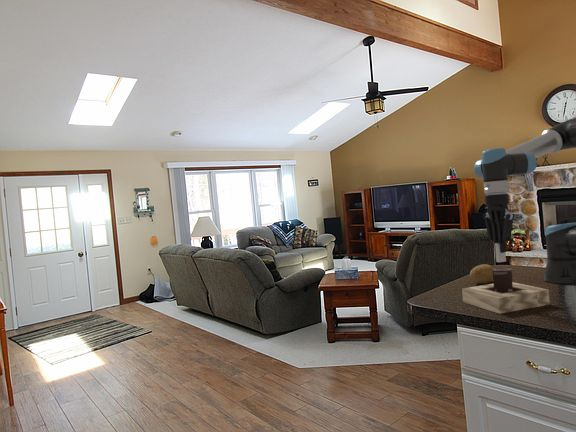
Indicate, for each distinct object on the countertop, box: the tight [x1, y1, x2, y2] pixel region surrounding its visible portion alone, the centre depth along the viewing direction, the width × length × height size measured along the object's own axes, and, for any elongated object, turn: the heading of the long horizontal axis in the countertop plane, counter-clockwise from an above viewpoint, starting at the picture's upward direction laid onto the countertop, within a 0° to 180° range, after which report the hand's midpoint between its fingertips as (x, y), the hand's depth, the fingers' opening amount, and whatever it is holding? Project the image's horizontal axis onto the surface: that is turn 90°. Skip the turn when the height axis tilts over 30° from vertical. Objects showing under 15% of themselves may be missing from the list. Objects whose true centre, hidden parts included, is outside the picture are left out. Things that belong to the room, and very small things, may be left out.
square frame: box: [461, 281, 551, 314], centre depth 148 cm, size 20×18×5 cm
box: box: [492, 267, 513, 293], centre depth 148 cm, size 6×4×12 cm
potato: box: [469, 263, 494, 285], centre depth 181 cm, size 10×14×8 cm
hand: (501, 261), depth 148 cm, fingers closed
